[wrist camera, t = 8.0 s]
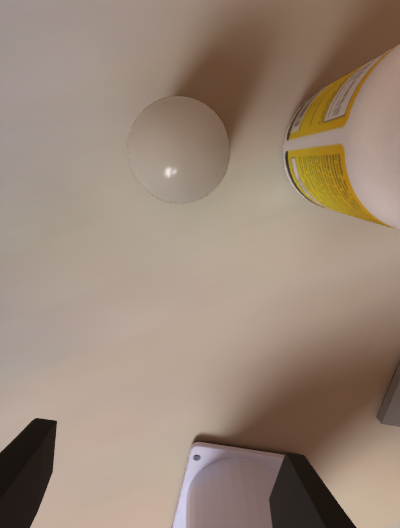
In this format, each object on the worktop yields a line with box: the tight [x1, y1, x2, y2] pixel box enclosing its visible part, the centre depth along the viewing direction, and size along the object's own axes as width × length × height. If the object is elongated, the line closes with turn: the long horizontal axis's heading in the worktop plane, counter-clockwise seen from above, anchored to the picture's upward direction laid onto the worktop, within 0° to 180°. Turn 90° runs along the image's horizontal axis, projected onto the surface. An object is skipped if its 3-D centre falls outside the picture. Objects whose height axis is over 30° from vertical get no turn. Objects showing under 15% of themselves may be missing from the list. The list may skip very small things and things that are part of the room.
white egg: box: [128, 96, 230, 204], centre depth 15 cm, size 4×4×5 cm
